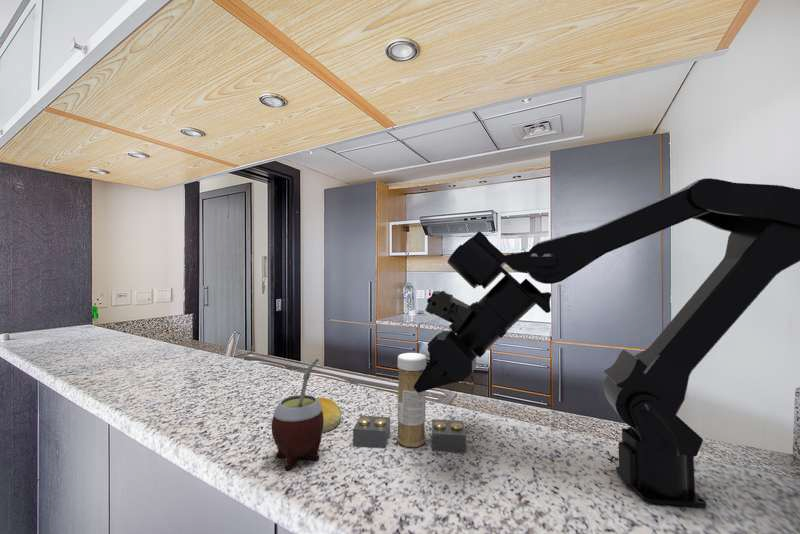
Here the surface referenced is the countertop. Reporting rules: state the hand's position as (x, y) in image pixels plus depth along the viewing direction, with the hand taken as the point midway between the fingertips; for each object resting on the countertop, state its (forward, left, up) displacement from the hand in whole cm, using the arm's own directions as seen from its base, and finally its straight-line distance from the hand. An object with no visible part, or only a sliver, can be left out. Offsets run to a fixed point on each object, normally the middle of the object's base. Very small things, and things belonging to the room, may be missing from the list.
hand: (425, 380), depth 50 cm
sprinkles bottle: (+2, -1, -10) cm, 10 cm away
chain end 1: (+8, -1, -10) cm, 13 cm away
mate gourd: (+17, +6, -10) cm, 21 cm away
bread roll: (+19, -5, -10) cm, 23 cm away
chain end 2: (-4, -1, -10) cm, 10 cm away
